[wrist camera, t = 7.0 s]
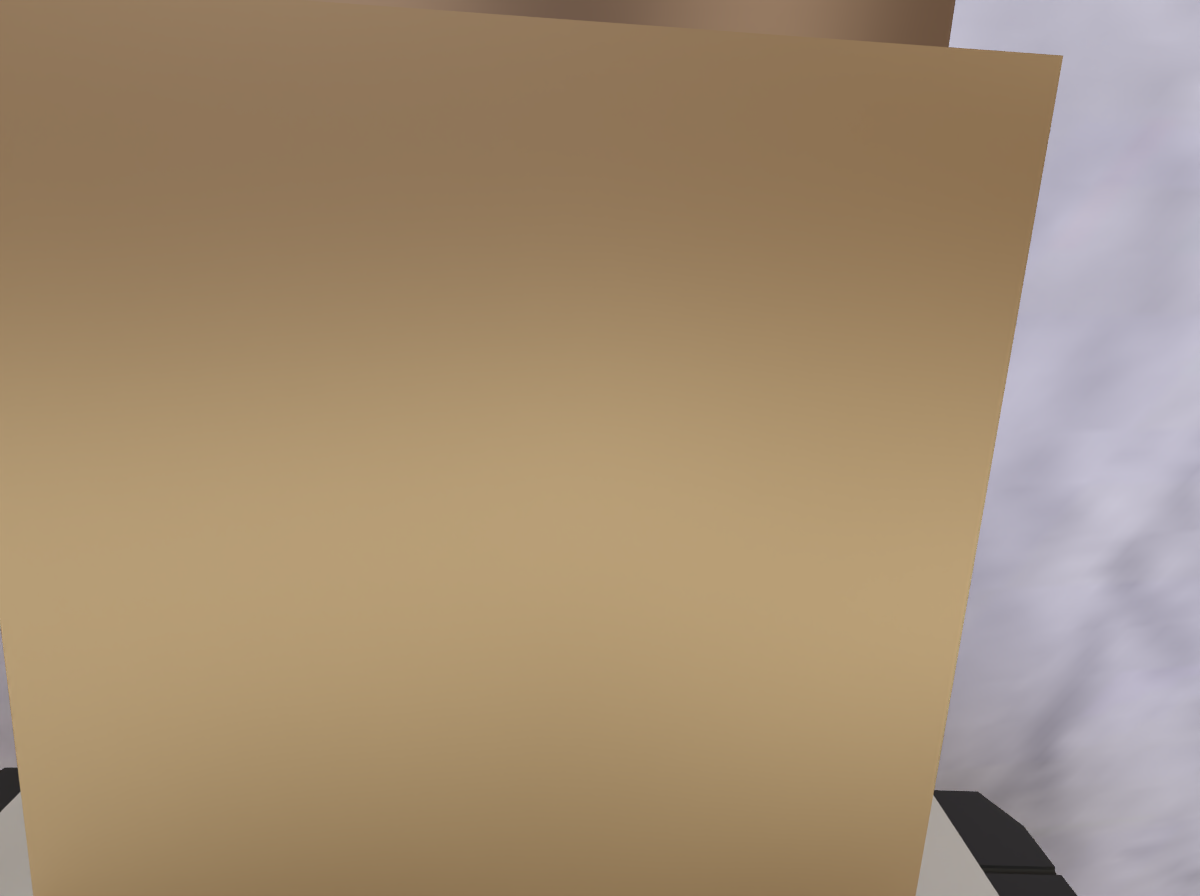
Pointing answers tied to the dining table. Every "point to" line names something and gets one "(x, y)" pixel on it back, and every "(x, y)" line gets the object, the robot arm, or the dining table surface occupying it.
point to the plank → (492, 444)
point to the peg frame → (734, 15)
